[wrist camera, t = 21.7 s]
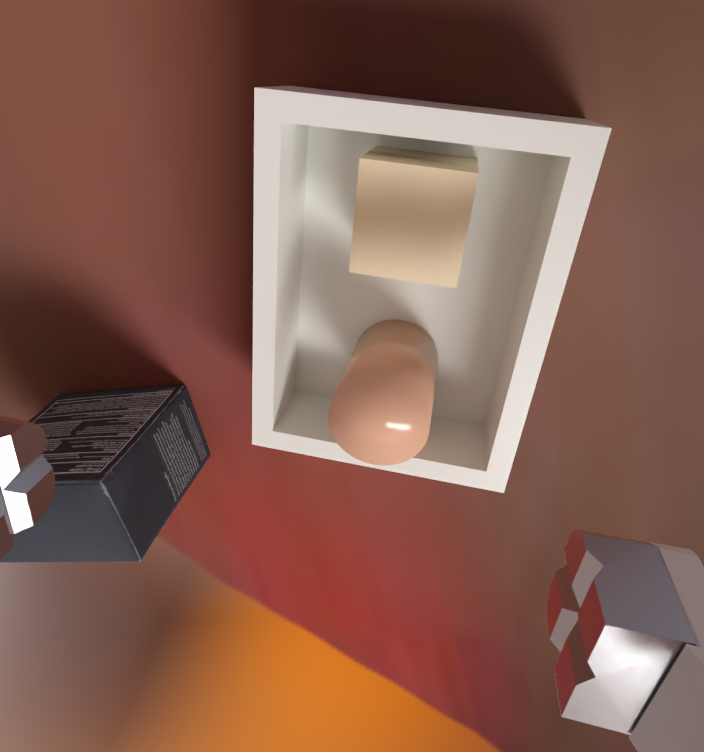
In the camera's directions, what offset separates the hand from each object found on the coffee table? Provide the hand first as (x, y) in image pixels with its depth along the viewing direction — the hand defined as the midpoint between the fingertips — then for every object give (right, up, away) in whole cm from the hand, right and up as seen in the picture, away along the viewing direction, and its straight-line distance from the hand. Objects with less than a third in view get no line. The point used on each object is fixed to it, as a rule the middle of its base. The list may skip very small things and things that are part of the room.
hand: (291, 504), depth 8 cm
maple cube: (+4, +11, +20) cm, 23 cm away
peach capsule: (+4, +3, +25) cm, 25 cm away
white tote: (+4, +7, +23) cm, 25 cm away
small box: (-15, -2, +32) cm, 36 cm away
